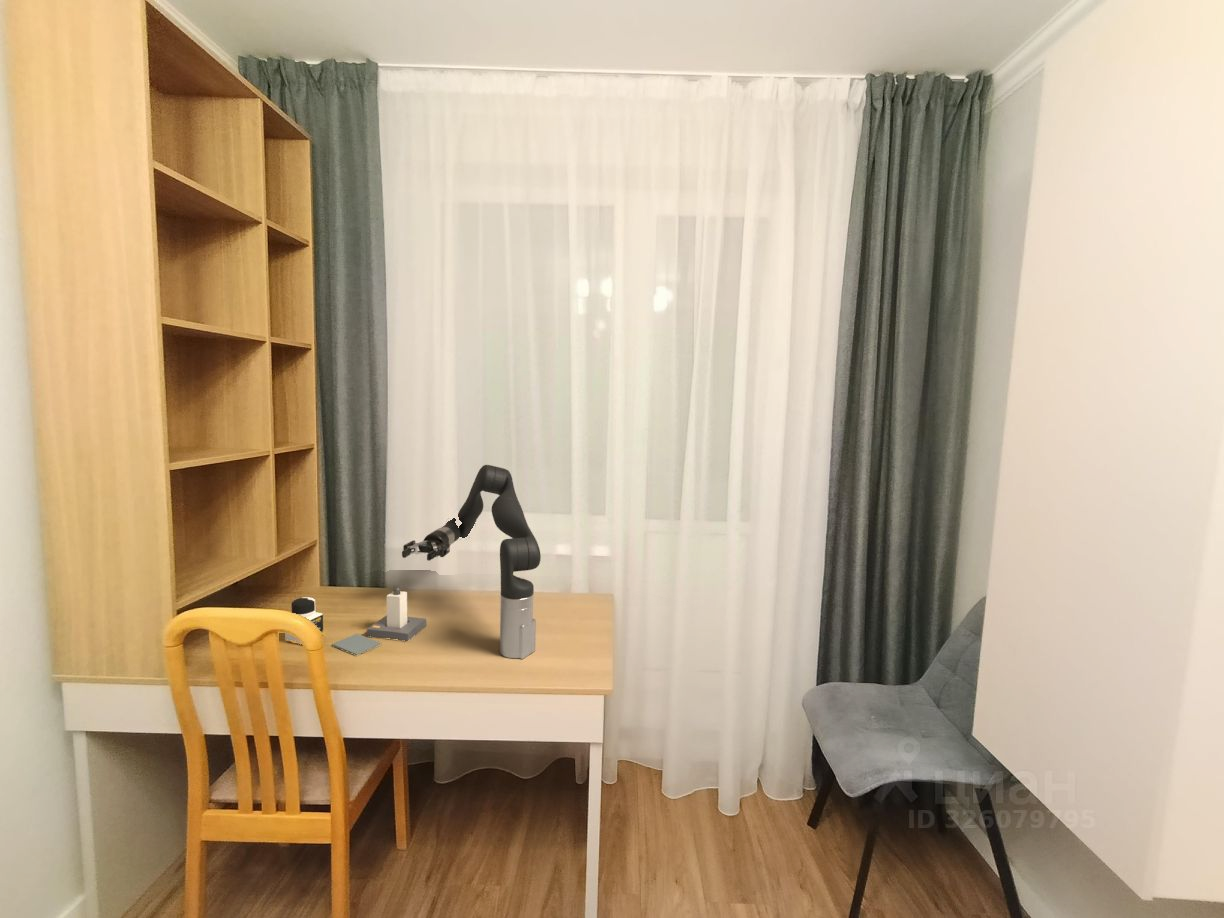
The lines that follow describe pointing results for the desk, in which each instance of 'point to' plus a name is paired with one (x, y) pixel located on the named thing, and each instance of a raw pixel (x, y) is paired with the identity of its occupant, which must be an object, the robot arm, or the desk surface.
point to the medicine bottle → (306, 613)
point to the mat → (356, 644)
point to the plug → (397, 608)
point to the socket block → (397, 629)
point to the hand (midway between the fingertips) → (415, 556)
